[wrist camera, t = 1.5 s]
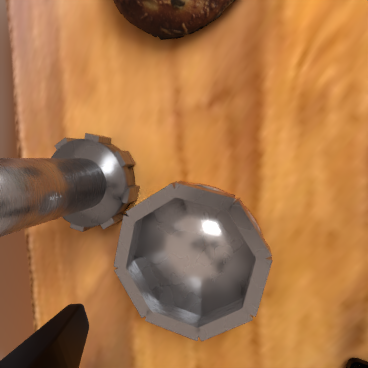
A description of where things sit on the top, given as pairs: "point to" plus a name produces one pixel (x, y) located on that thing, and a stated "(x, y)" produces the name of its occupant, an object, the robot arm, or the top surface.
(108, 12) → the top surface
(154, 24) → the bread roll
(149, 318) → the grey octagonal ring
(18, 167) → the grey cylinder with base
